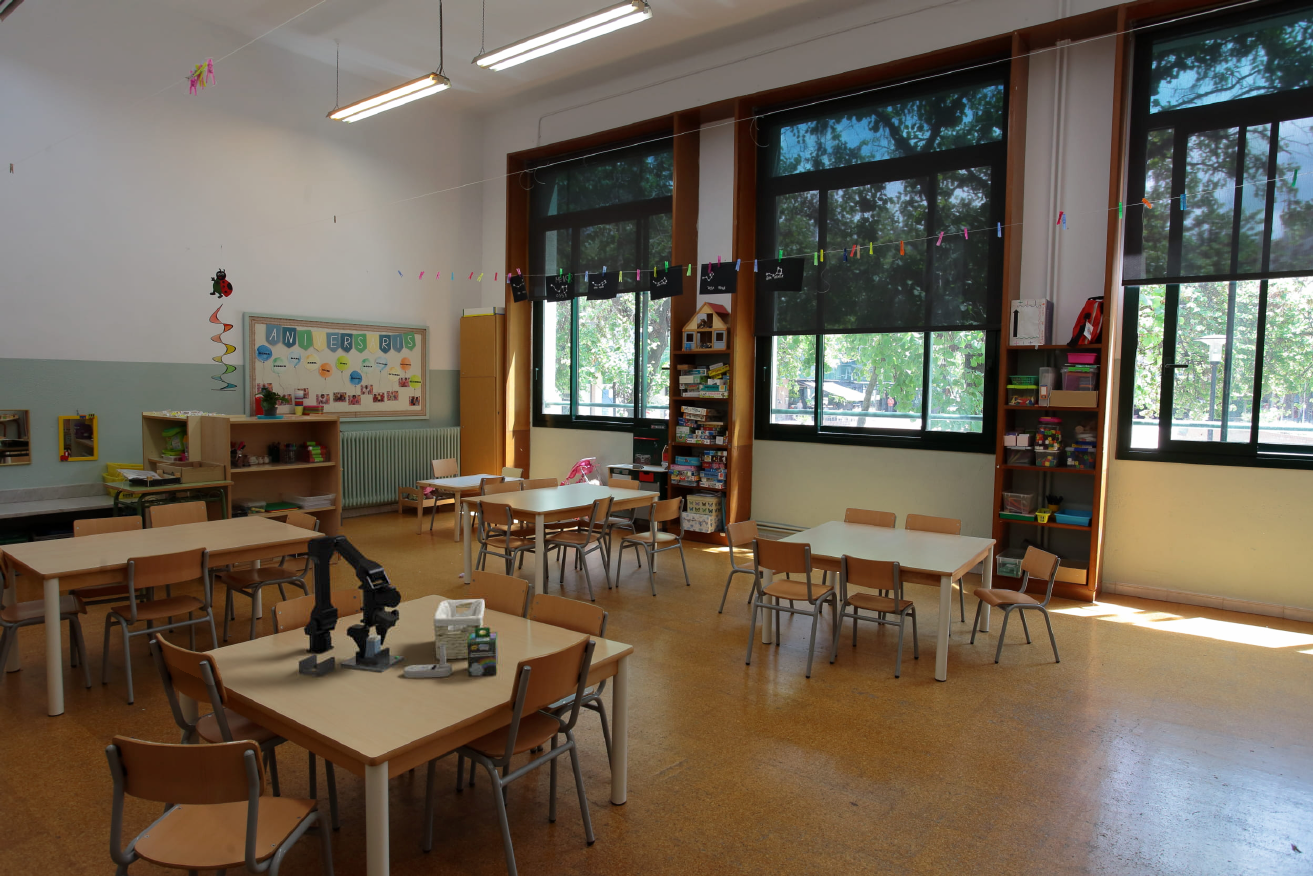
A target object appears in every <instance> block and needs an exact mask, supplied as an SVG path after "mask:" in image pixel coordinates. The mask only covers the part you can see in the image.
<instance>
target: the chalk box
mask: <svg viewBox="0 0 1313 876" xmlns="http://www.w3.org/2000/svg"><path fill="white" fill-rule="evenodd" d="M481 630H483V632H482V633H479V632H480V631H481ZM467 650H468V658H467V676H468V677H479V676H480V677H481V676H484V677H485V676H487V677H488V676H497V674H498V666H499V656H498V654H499V651H498V631H491V628H490V626H489V627H488V626H487V627H486V626H483V627H482V628H475V633H471V634H469V639H468V642H467Z"/></svg>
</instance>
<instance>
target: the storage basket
mask: <svg viewBox="0 0 1313 876" xmlns="http://www.w3.org/2000/svg"><path fill="white" fill-rule="evenodd" d="M485 604H486V603H485V599H483V598H477V599H473V598H472V599H451V600H449V599H447V600H442V601H440V603H439V604H438V606H437V608H436V611H435V613H434V618H433V626H434V628H433V631H434V638H435V639H434V642H435V659H437V660H440V656H439V655H440V648H439V645H441V644H445V652H446V660H449V659H451V660H453V659H468V650H467V642H468V639H469V634H471V633H475V628H482V627H484V614H485ZM457 609H467V610H465V611H462V612H457ZM482 632H484V630H481V631H480V632H479V633H482Z"/></svg>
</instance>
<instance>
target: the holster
mask: <svg viewBox="0 0 1313 876" xmlns="http://www.w3.org/2000/svg"><path fill="white" fill-rule="evenodd" d="M313 669H316V670H313ZM334 670H336V657H335V656H330V657H329V658H326V659H325V660H322V661H320V662H318V655H317V653H316V654H315V653H314V654H312V655H309V656H308V657H306V658H303V659H302V660H299V661H298V674H299V675H305V676H313V677H319V678H320V677H323V676H325V675H327V674H328V673H331V672H332V671H334Z"/></svg>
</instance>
